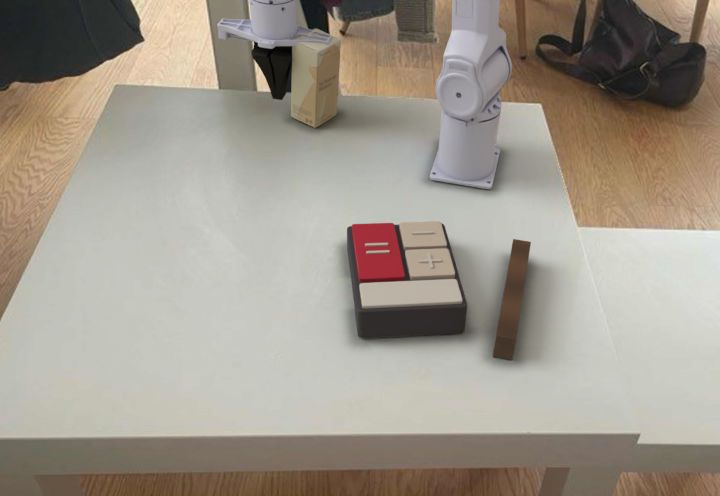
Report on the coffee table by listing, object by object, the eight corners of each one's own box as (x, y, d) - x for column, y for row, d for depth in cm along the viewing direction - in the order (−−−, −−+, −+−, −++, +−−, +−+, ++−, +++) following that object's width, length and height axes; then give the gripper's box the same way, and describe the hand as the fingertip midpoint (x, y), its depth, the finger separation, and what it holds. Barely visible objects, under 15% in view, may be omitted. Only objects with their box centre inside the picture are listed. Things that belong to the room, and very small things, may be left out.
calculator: (444, 216, 92) (469, 300, 81) (442, 248, 95) (465, 333, 84) (346, 219, 90) (357, 306, 79) (346, 251, 93) (358, 339, 82)
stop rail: (509, 259, 93) (513, 238, 91) (527, 262, 93) (531, 241, 91) (492, 357, 82) (496, 335, 80) (512, 360, 82) (516, 339, 80)
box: (315, 129, 110) (317, 52, 102) (289, 116, 111) (289, 39, 103) (338, 114, 113) (342, 38, 105) (313, 102, 114) (315, 26, 106)
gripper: (203, -2, 99) (216, 101, 108) (320, 16, 98) (323, 118, 107) (224, -23, 104) (235, 77, 113) (335, -6, 103) (337, 93, 112)
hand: (279, 96), depth 111 cm, fingers closed
